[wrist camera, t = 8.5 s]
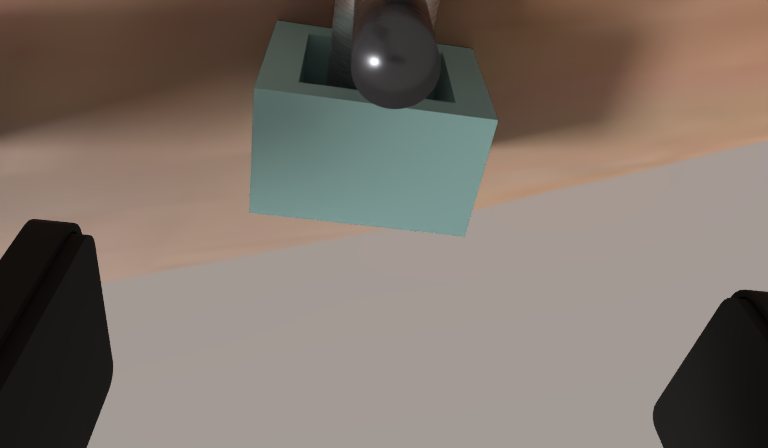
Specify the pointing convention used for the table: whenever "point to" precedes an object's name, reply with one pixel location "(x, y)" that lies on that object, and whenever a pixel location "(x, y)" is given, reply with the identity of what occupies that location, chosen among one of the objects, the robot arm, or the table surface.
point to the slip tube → (385, 50)
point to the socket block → (366, 142)
